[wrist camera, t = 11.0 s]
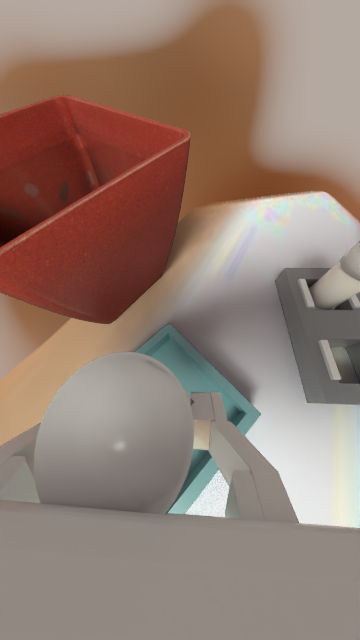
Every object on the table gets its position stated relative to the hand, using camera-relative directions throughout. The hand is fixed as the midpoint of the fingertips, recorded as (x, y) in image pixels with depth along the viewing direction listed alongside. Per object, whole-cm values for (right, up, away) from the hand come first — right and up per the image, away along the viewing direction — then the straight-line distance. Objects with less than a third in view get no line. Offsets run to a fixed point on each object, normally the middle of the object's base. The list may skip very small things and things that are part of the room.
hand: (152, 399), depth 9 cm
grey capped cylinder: (0, -3, +5) cm, 6 cm away
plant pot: (-10, +11, +20) cm, 25 cm away
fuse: (+22, +6, +17) cm, 28 cm away
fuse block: (+21, +2, +15) cm, 26 cm away
